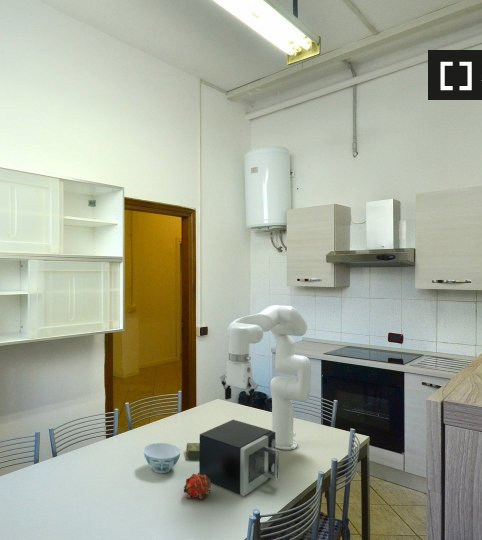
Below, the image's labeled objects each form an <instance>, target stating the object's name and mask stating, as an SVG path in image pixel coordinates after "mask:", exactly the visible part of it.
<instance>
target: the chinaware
mask: <svg viewBox="0 0 482 540" xmlns="http://www.w3.org/2000/svg"><path fill="white" fill-rule="evenodd" d="M181 452H182V451H181V449H180V448H179V447H178V446H177V445H175V444H171V443H166V442H155V443H150V444H148V445H146V446H144V448H143V456H144V459H145V462H147V464H148V465H149V466H150V467H151V468H152V469H153V471H154V472H156V473H158V474H166V473H169V472H170V471H171V469H172V468H174V467H175V466H176V465H177V463H178V461H179V459H180V456H181Z"/></svg>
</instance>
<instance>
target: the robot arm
mask: <svg viewBox="0 0 482 540" xmlns="http://www.w3.org/2000/svg"><path fill="white" fill-rule="evenodd" d="M226 329H227V330H226V335H227V338H228V360H227V362H226V367H225V373H224V374H222V375H220V376H219V379H220V381H221V385H222V386H223V389H224V400H226V401H227V400H230V399H232V387H234V388H237V389H241V390H244V392H245V396H244V397H245V401H244V402H245V406H251V405H252V404H253V395H254V394H255V392H257V389H258V387H259V384H258V383H257V382H256V381H255V380H253V369H252V364H251V362H250V361H251V359H252V358H251V356H249V354H250V353H249V351H250V350H249V346H250V345H249V344H258V343H260V342H261V341H262V340H263V338H264V333H266V332H267V333H268V332H269V331H270V332H271V333H272V335H273V337H274V340H275V358H274V360H275V361H274V367H275V371H276V372H277V373H280V374H283V375H289V376H294V377H297V378H294V377H289V376H282V375H280V376H279V375H277V376H274V377H273V378H272V379H271V380H270V383H269V388H270V394H271V401H272V402H271V407H272V408H271V431H273V432H275V441H276V444H275V449H278V450H283V451H291V450H294V449H296V448H297V445H298V443H297V442H296V441H295V440H294V437H296V435H297V433H296V432H295V431H294V418H295V417H294V416H295V415H294V414H295V413H294V412H295V411H294V405H293V402H292V400H293V401H297V402H306V401H308V400H309V397H310V393H311V380H312V363H311V360H310V359H309V357H307V356H305V355H302V354H296V341H295V339H294V338H293V337H303V336H304V335H305V334H306V333H307V330H308V326H307V320H305V318H304V316H303V315H302V314H301V312H300V311H299V310H298V309H297V308H295V307H294V306H292V305H277V304H276V305H275V304H273V305H269V306H267V307H266V308H265V309H263V310H261V311H260V312H258V313H254V314H250V315H245V316H242V317H239V318H236V319H234V320H233V321H232V322H230V323H229V325H228V327H227V328H226ZM292 336H293V337H292Z"/></svg>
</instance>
